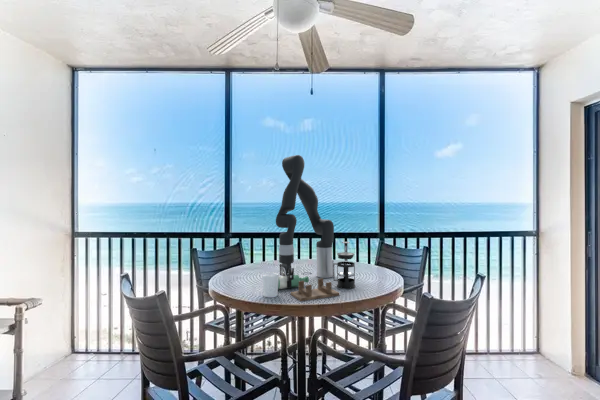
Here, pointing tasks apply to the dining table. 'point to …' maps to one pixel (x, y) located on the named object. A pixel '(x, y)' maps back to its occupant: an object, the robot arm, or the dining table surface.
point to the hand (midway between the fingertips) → (286, 286)
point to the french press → (345, 270)
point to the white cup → (270, 284)
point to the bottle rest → (314, 291)
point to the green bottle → (295, 282)
